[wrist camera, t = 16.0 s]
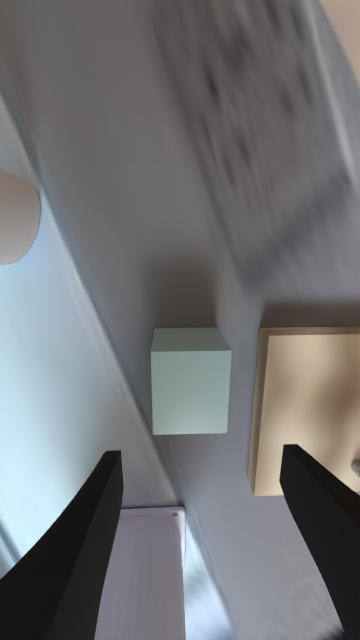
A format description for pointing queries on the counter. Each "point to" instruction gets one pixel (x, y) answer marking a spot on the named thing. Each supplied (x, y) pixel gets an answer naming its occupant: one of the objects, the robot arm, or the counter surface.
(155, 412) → the pale green block
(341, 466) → the tan flat wooden board
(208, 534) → the counter surface
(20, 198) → the eye dropper bottle
